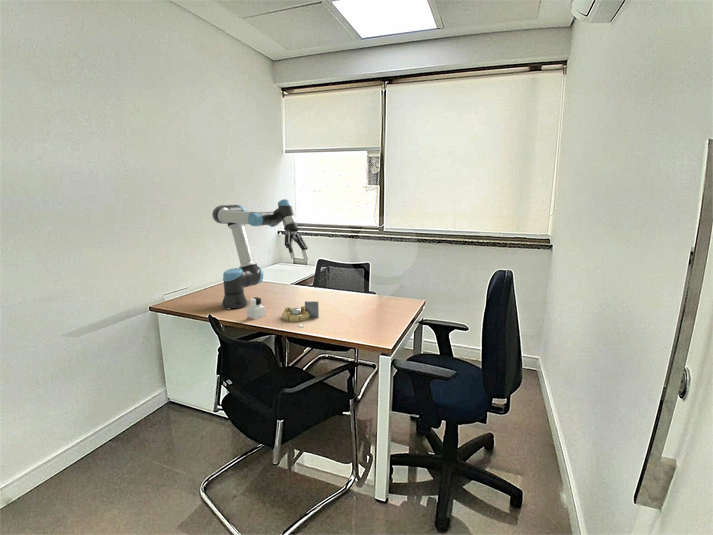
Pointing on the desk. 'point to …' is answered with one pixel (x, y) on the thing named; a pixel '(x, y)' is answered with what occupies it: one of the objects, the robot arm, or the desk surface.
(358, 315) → the desk surface
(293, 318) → the block with gold ring
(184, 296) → the desk surface
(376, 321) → the desk surface
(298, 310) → the housing plate
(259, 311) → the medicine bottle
